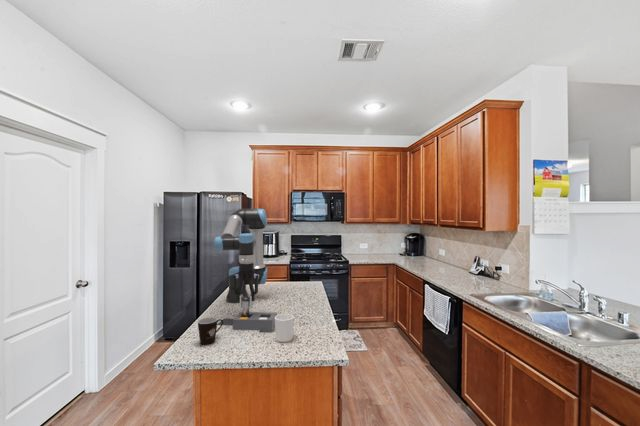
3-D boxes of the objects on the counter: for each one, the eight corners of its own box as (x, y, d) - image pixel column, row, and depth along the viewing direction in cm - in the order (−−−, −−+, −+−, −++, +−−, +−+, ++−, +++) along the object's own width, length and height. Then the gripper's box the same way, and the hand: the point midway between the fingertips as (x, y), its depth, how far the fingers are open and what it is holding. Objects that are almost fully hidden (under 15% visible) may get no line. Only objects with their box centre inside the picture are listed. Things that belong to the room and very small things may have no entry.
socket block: (240, 323, 157) (240, 311, 157) (276, 323, 156) (276, 311, 157) (232, 331, 145) (232, 319, 146) (272, 332, 144) (272, 319, 145)
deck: (223, 320, 162) (223, 318, 162) (241, 320, 161) (241, 318, 161) (216, 327, 152) (216, 325, 152) (235, 327, 151) (235, 325, 151)
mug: (285, 344, 130) (285, 321, 130) (270, 340, 135) (270, 318, 135) (300, 336, 139) (300, 314, 140) (285, 332, 144) (285, 311, 144)
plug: (242, 315, 153) (243, 296, 154) (250, 315, 153) (251, 296, 153) (239, 317, 149) (240, 298, 149) (248, 318, 148) (249, 299, 149)
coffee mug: (198, 347, 127) (198, 325, 127) (196, 340, 135) (196, 319, 135) (225, 342, 133) (225, 320, 133) (222, 335, 140) (222, 315, 140)
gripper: (227, 263, 149) (227, 309, 148) (261, 263, 148) (261, 309, 147) (232, 261, 156) (232, 305, 155) (264, 261, 155) (264, 305, 155)
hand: (246, 307), depth 151 cm, fingers closed on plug, 5 cm apart
